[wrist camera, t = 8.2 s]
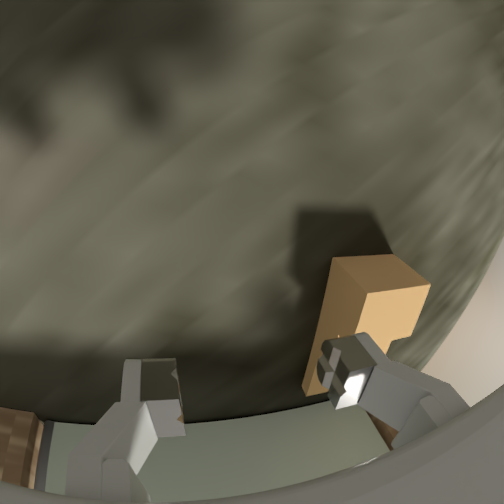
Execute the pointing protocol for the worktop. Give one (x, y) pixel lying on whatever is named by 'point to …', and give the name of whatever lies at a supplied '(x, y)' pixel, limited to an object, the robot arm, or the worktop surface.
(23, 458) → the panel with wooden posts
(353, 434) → the door leaf
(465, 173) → the worktop surface
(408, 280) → the tan long block
